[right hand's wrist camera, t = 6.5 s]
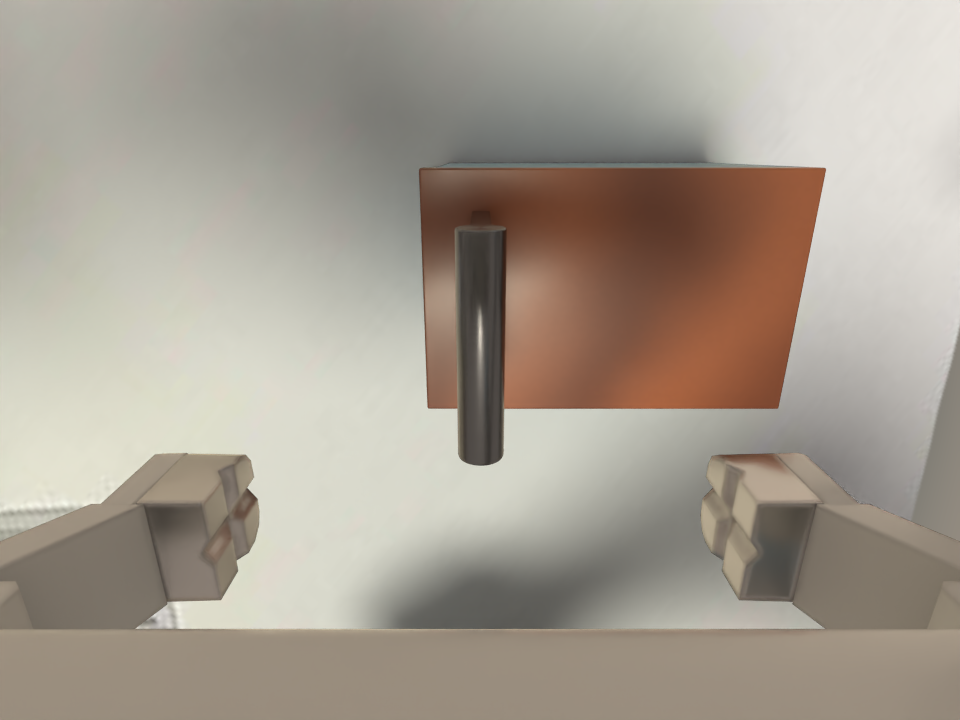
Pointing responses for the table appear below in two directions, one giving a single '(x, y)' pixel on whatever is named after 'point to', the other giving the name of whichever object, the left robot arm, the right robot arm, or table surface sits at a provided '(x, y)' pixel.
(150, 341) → the table surface
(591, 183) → the lid
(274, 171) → the table surface
